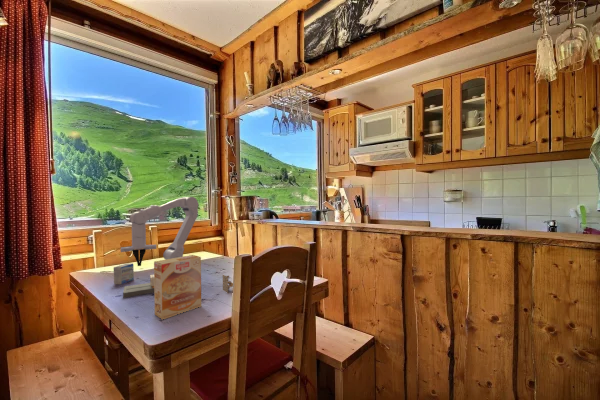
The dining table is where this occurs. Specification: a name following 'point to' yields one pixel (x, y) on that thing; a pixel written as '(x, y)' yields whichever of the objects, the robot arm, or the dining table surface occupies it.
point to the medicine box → (123, 273)
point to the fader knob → (152, 280)
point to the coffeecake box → (177, 285)
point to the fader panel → (137, 290)
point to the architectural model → (226, 283)
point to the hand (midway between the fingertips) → (139, 265)
